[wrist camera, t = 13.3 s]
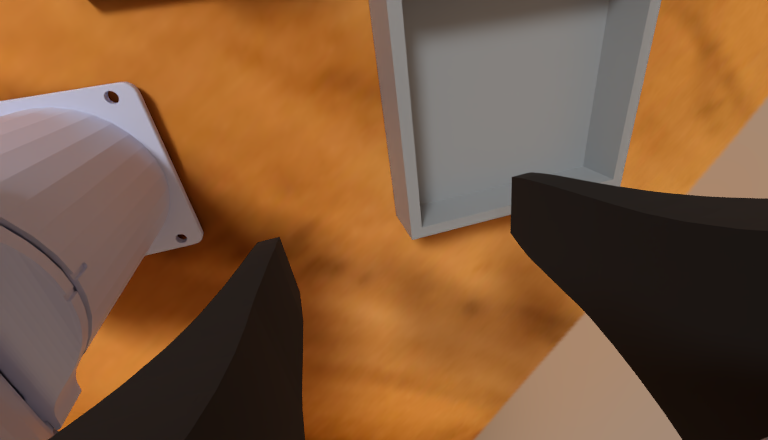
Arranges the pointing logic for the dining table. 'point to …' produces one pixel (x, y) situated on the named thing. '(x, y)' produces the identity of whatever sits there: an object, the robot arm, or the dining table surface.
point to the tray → (504, 98)
